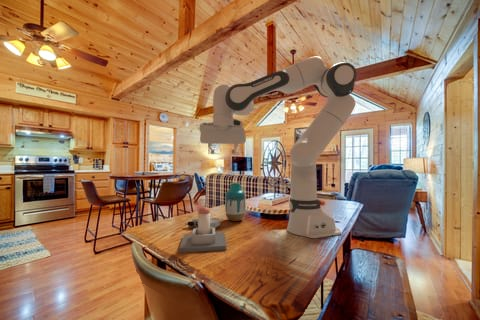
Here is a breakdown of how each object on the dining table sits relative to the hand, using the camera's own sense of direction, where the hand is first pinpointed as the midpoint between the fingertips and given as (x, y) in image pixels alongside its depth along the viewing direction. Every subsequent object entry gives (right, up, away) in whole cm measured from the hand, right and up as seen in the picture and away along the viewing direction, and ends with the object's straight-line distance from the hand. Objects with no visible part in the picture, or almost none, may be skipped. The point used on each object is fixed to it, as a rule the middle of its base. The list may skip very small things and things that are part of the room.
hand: (223, 153), depth 93 cm
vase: (+5, -34, +15) cm, 38 cm away
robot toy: (-9, -35, +3) cm, 36 cm away
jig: (-6, -34, -15) cm, 38 cm away
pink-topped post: (-6, -33, -15) cm, 36 cm away
